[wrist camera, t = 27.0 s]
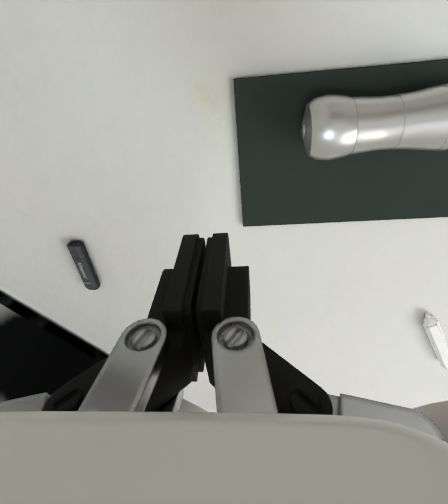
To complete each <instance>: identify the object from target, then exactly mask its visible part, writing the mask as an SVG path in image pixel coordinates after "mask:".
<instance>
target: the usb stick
mask: <svg viewBox="0 0 448 504" xmlns="http://www.w3.org/2000/svg"><path fill="white" fill-rule="evenodd" d="M67 247H68V249H69V251H70V253H71V255H72V258H73V260H74V262H75V264H76V267H77V269H78V271H79V273H80V276H81V278H82V280H83V282H84V285H85V287H86V288H88V289H89V290H96V289H98V288H99V287H100V283H99V280H98V278H97V275H96V273H95V271H94V268H93V265H92V263H91V261H90V258H89V256H88V253H87V251H86V248H85V246H84V244H83V242H81V241H72V242H69V243H68V244H67Z"/></svg>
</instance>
